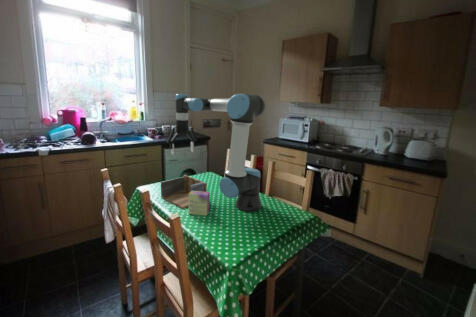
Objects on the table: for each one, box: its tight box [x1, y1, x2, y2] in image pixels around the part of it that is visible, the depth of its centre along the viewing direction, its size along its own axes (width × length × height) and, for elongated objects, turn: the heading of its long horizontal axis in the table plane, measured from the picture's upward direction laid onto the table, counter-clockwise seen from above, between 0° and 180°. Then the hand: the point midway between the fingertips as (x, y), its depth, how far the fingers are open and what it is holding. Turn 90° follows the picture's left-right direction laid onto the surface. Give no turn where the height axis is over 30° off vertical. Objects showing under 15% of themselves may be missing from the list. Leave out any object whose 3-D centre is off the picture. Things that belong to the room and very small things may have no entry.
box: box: [187, 191, 211, 217], centre depth 139 cm, size 10×6×12 cm, turn 84°
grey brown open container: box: [160, 174, 208, 210], centre depth 156 cm, size 22×18×12 cm
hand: (182, 152), depth 163 cm, fingers open, 13 cm apart
